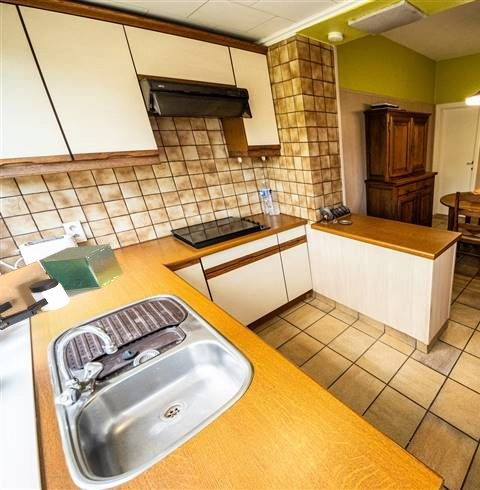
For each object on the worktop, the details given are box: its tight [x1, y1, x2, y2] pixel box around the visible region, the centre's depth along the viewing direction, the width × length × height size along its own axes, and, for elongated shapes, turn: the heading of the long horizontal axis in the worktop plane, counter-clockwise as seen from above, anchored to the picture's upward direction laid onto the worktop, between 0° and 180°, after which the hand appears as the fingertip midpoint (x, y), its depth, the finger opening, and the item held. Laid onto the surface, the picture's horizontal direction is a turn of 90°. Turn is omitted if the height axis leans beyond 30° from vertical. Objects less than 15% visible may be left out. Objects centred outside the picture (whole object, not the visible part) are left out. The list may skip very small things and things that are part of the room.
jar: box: [29, 278, 70, 312], centre depth 118 cm, size 9×8×12 cm
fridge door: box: [0, 261, 50, 317], centre depth 118 cm, size 6×20×18 cm, turn 177°
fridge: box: [38, 243, 124, 293], centre depth 135 cm, size 15×20×18 cm
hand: (28, 302), depth 110 cm, fingers open, 13 cm apart
